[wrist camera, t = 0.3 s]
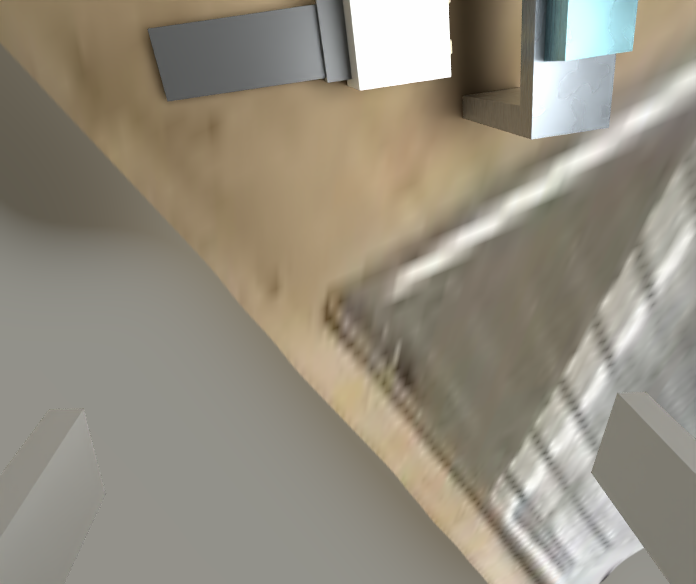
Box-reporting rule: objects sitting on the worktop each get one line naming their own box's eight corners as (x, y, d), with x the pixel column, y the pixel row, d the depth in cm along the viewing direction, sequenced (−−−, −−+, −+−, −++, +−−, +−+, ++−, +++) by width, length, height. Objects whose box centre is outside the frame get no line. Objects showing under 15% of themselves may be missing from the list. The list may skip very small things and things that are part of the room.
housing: (457, -87, 29) (566, -198, 17) (521, -97, 29) (674, -213, 17) (462, 117, 34) (549, 145, 22) (517, 109, 35) (633, 132, 22)
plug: (181, 110, 33) (147, 122, 26) (157, 19, 30) (112, 3, 23) (433, 73, 33) (469, 74, 26) (428, -20, 31) (466, -48, 23)
